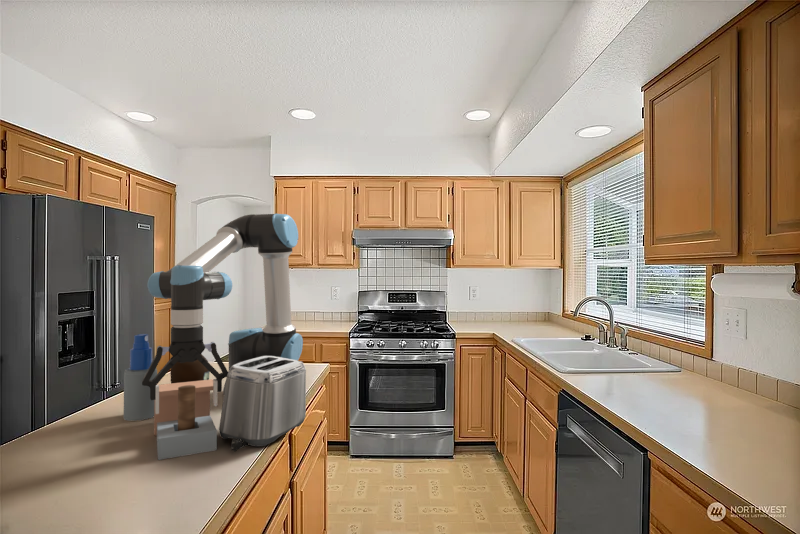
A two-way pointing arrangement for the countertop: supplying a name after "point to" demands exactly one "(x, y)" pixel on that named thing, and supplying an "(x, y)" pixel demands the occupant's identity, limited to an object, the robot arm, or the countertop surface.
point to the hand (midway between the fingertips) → (186, 408)
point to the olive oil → (189, 372)
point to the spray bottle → (138, 381)
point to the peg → (186, 407)
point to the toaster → (263, 400)
